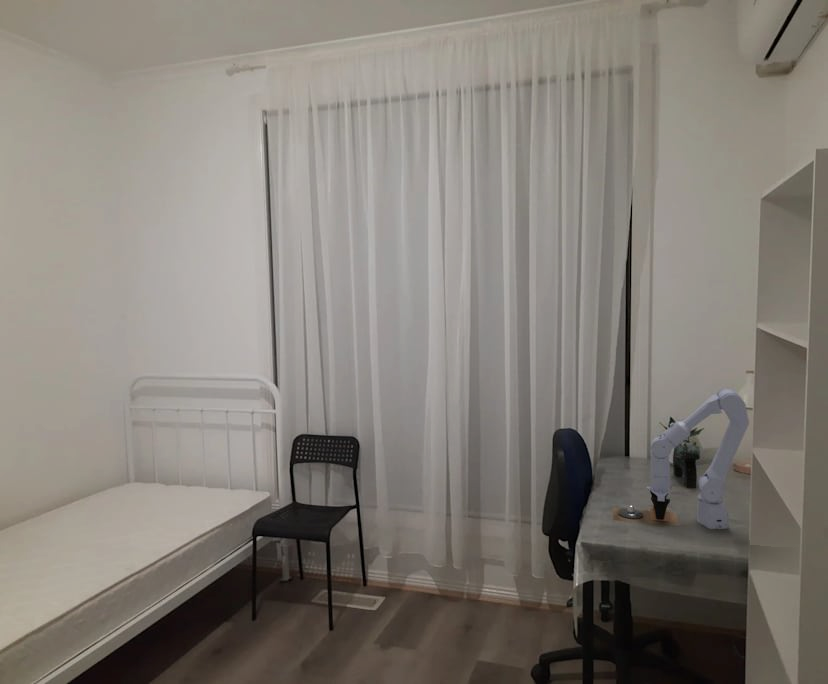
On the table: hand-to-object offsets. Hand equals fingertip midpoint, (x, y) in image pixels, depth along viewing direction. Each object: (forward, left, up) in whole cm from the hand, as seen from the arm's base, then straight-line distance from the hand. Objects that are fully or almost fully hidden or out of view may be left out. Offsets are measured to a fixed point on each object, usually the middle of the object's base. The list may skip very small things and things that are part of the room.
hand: (659, 516), depth 204 cm
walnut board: (+2, +4, -2) cm, 5 cm away
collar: (0, 0, 0) cm, 0 cm away
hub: (+3, +8, -1) cm, 9 cm away
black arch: (+40, -29, -2) cm, 50 cm away
